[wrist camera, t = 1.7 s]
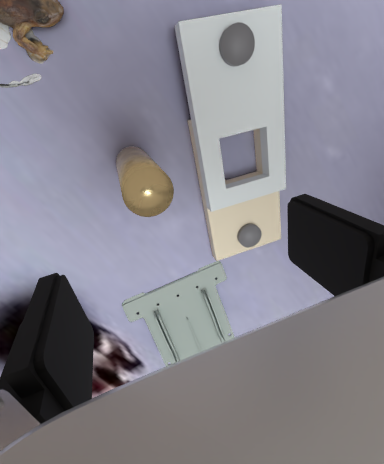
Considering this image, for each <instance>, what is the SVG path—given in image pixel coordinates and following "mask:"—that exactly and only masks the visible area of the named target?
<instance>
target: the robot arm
mask: <svg viewBox="0 0 384 464" xmlns="http://www.w3.org/2000/svg"><path fill="white" fill-rule="evenodd" d="M288 255H289V258H290V260H291V261H292V262H293V263H294V264H295V265H296V266H298V267H299V268H300V269H301V270H303V271H304V272H305V273H306V274H308V275H309V276H310V277H312V278H313V279H314V280H315V281H317V282H318V283H319V284H320V285H322V286H323V287H324V288H325V289H327V290H328V291H329V292H330V293H332V294H333V295H334V296H335V297H332V298H330V299H327V300H325V301H322V302H320V303H318V304H315V305H313V306H310V307H308V308H305V309H303V310H300V311H298V312H296V313H293V314H291V315H288V316H286V317H284V318H281V319H279V320H276V321H274V322H271V323H269V324H267V325H264V326H262V327H259V328H257V329H255V330H252V331H250V332H247V333H245V334H242V335H240V336H238V337H235V338H233V339H230V340H228V341H226V342H223V343H221V344H218V345H216V346H214V347H211V348H209V349H207V350H204V351H202V352H199V353H197V354H195V355H192V356H190V357H188V358H185V359H183V360H180V361H178V362H176V363H173V364H171V365H169V366H166V367H164V368H161V369H159V370H157V371H154V372H152V373H149V374H147V375H145V376H142V377H140V378H138V379H135V380H133V381H131V382H128V383H126V384H124V385H121V386H119V387H117V388H114V389H112V390H110V391H108V392H105V393H103V394H101V395H99V396H97V397H95V398H92V373H93V344H94V333H93V329H92V326H91V324H90V322H89V320H88V318H87V316H86V314H85V312H84V311H83V309H82V307H81V305H80V303H79V301H78V299H77V297H76V295H75V293H74V291H73V289H72V288H71V286H70V284H69V282H68V280H67V278H66V276H65V275H61V276H60V275H59V274H58V273H54V274H51V275H48V276H45V277H42V278H39V280H38V283H37V285H36V288H35V291H34V293H33V296H32V299H31V301H30V304H29V307H28V310H27V312H26V315H25V318H24V320H23V322H22V323H21V325H20V327H19V330H18V332H17V335H16V337H15V340H14V343H13V345H12V348H11V351H10V353H9V356H8V359H7V361H6V364H5V366H4V369H3V372H2V374H1V377H0V464H384V225H381V224H379V223H376V222H374V221H371V220H369V219H366V218H364V217H362V216H359V215H357V214H354V213H352V212H349V211H347V210H344V209H342V208H339V207H337V206H334V205H332V204H329V203H327V202H325V201H322V200H320V199H317V198H315V197H312V196H310V195H307V194H303V195H300V196H297V197H293V198H292V199H291V200H290V202H289V203H288Z"/></svg>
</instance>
